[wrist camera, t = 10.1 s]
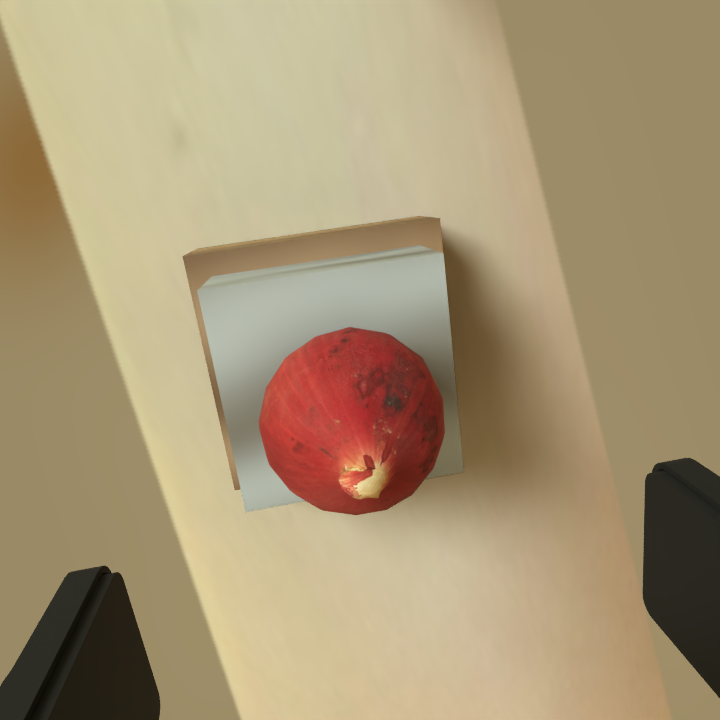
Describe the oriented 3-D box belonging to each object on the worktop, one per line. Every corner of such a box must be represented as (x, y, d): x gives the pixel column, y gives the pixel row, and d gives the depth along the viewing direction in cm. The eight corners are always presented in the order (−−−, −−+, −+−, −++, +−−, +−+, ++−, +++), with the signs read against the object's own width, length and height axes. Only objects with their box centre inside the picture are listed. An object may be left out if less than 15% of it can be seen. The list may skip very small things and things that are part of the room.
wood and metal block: (197, 248, 27) (161, 266, 20) (419, 216, 28) (467, 221, 21) (241, 454, 31) (225, 538, 23) (440, 419, 31) (489, 489, 24)
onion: (322, 277, 21) (346, 324, 13) (444, 362, 22) (531, 449, 14) (234, 404, 21) (208, 518, 14) (358, 478, 23) (395, 617, 15)
